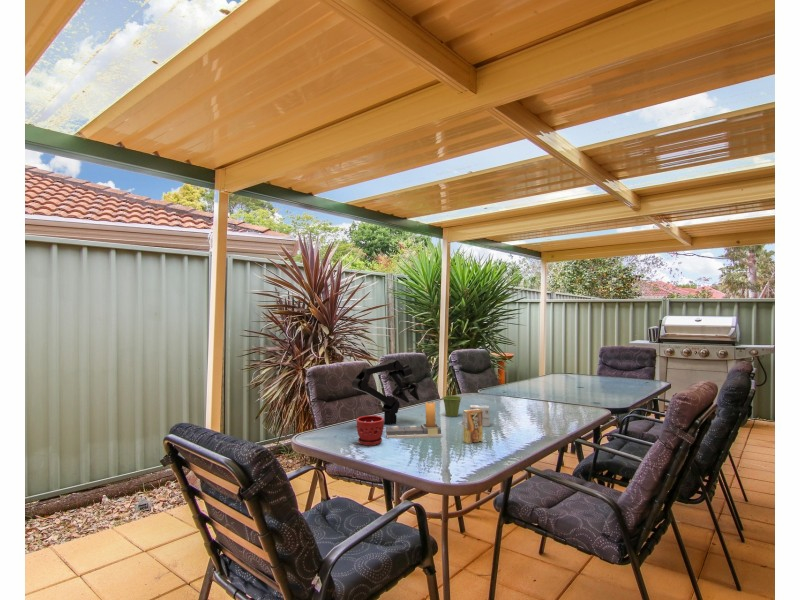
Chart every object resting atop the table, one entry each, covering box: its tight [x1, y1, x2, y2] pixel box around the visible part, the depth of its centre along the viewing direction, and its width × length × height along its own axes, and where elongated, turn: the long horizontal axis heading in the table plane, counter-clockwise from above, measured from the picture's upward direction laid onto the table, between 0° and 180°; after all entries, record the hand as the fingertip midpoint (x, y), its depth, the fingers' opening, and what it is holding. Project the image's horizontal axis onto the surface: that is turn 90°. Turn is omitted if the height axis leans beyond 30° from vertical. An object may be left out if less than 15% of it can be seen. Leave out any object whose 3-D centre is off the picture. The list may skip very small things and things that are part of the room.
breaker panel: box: [384, 423, 443, 439], centre depth 234 cm, size 28×12×4 cm, turn 96°
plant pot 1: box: [356, 415, 385, 446], centre depth 219 cm, size 13×13×12 cm
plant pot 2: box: [442, 395, 462, 418], centre depth 280 cm, size 12×12×11 cm
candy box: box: [462, 409, 483, 444], centre depth 221 cm, size 9×4×15 cm, turn 116°
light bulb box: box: [469, 404, 491, 427], centre depth 255 cm, size 11×7×11 cm, turn 84°
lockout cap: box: [425, 401, 437, 428], centre depth 235 cm, size 5×5×13 cm
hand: (413, 401), depth 254 cm, fingers open, 9 cm apart
